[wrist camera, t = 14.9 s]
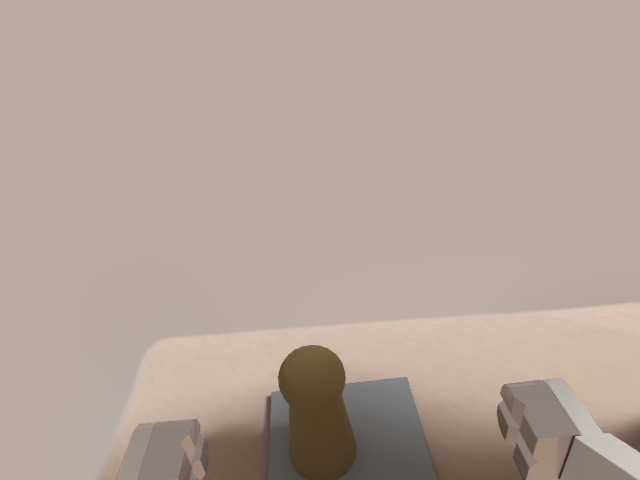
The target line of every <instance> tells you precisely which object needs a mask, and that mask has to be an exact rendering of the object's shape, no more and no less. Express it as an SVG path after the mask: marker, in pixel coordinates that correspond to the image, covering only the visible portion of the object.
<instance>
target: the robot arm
mask: <svg viewBox="0 0 640 480" xmlns="http://www.w3.org/2000/svg"><path fill="white" fill-rule="evenodd" d="M500 394H501V396H502V398H503V401H502V402H501V403H499V404H498V410H497V416H498V424H499V427H500V430H501V433H502V435H503V437H504V439H505V441H506V442H507V443H508V444H510V445H511V446H512V447H514V448H515V451H514V456H513V459H514V461H515V463H516V465H517V467H518V469H519V471H520V473H521V475H522V477H523V479H524V480H640V452H638V451H637V450H635V449H634V448H632V447H630V446H629V445H627V444H626V443H624V442H623V441H621V440H619V439H618V438H616V437H615V436H613V435H612V434H610V433H602V431H601V430H600V428H599V427H598V426H597V424H596V423H595V421H594V420H593V418H592V417H591V416H590V414H589V413H588V411H587V410H586V409H585V407H584V406H583V404H582V403H581V401H580V400H579V399H578V397H577V396H576V394H575V393H574V392H573V390H572V389H571V387H570V386H569V384H568V383H567V382H566V381H565V380H564V379H562V378H555V379H547V380H534V381H526V382H518V383H510V384H504V385H503V386H502V388H501V393H500ZM199 431H200V424H199V422H198V420H197V419H190V420H178V421H167V422H155V423H146V424H138V426H137V427H136V429H135V430H134V432H133V434H132V437H131V440H130V443H129V445H128V448H127V451H126V454H125V457H124V459H123V462H122V465H121V468H120V470H119V473H118V476H117V479H116V480H202V478H203V477H204V476H205V475H206V470H207V464H208V448H207V443H206V440H205V437H204V436H202V435H200V434H199Z"/></svg>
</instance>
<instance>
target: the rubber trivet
mask: <svg viewBox="0 0 640 480" xmlns="http://www.w3.org/2000/svg"><path fill="white" fill-rule="evenodd" d="M342 398H343V401H344V404H345V407H346V411H347V414H348V417H349V420H350V424H351V427H352V430H353V433H354V436H355V440H356V444H357V453H356V459H355V461H354V463H353V465H352V467H351V468H350V469H349V470H348V471H347V473H346V474H345V475H343V476H342V477H340V478H338V479H336V480H437V478H436V474H435V471H434V468H433V464H432V461H431V457H430V454H429V451H428V447H427V444H426V440H425V437H424V433H423V430H422V427H421V423H420V420H419V416H418V413H417V410H416V406H415V403H414V399H413V396H412V393H411V389H410V386H409V382H408V379H407V377H403V378H394V379H385V380H376V381H367V382H358V383H349V384H345V386H344V390H343V393H342ZM267 480H307V479H305V478H303V477H302V476H301V475H300V474H299V473H298V472H297V471H296V470H295V469H294V467H293V465H292V463H291V461H290V451H289V404H288V403H287V402H286V400H285V399H284V397H283V395H282V393H281V392H280V391H277V392H271V412H270V432H269V452H268V471H267Z"/></svg>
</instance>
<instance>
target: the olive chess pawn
mask: <svg viewBox="0 0 640 480" xmlns="http://www.w3.org/2000/svg"><path fill="white" fill-rule="evenodd" d="M345 379H346V378H345V371H344V367H343V364H342V362H341V360H340V359H339V358H338V356H337V355H336V354H335V353H333V352H332V351H331V350H329V349H328V348H325V347H322V346H317V345H309V346H304V347H301V348H298V349H296V350H294V351H293V352H292V353H290V354H289V355H288V356H287V357H286V359H285V360H284V362H283V363H282V365H281V367H280V371H279V376H278V381H279V388H280V392H281V393H282V395H283V397H284V399H285V400H286V402H287V403H288V404H289V451H290V461H291V463H292V465H293V467H294V469H295V470H296V471H297V472H298V473H299V474H300V475H301V476H302V477H303V478H305V479H307V480H336V479H338V478H340V477H342V476H343V475H345V474H346V473H347V471H348V470H349V469H350V468H351V467H352V465H353V463H354V461H355V459H356V453H357V444H356V440H355V436H354V433H353V430H352V427H351V424H350V420H349V417H348V414H347V411H346V407H345V404H344V401H343V398H342V393H343V390H344V386H345Z"/></svg>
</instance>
